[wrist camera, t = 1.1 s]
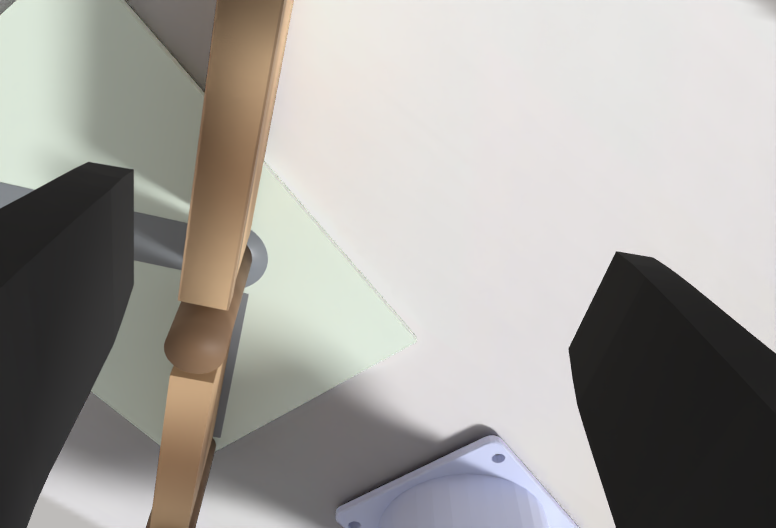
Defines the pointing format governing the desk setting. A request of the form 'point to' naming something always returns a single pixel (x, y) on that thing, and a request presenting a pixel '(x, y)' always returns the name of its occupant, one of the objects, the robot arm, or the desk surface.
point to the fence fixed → (193, 405)
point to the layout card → (179, 218)
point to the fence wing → (232, 144)
